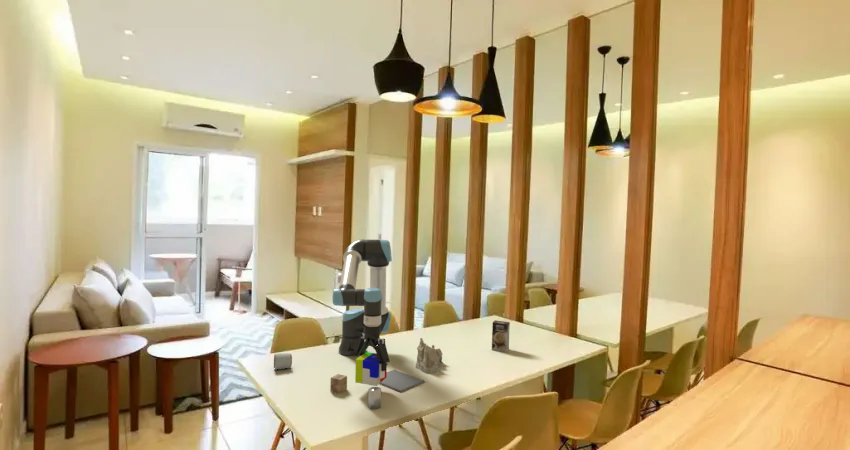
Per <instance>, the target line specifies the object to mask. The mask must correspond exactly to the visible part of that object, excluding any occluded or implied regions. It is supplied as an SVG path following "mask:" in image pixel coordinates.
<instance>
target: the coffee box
mask: <svg viewBox="0 0 850 450" xmlns="http://www.w3.org/2000/svg"><path fill="white" fill-rule="evenodd" d="M510 324H511V322H510V321H504V320H503V321H502V320H494V321H492V326H491V327H492V330H491V331H492V332H491V334H492V337H491V351H499V352H502V353H503V352H504V353H507V352H509V349H510V328H511V327H510Z"/></svg>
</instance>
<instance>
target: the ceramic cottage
mask: <svg viewBox="0 0 850 450" xmlns="http://www.w3.org/2000/svg"><path fill="white" fill-rule="evenodd" d="M416 349H417V355H416V362H415V369H417V370H418V371H420V372H422V373H425V374H436V373H439V372H440V371H442V369H443V367H444V366H445V363H444V361H443V352H442V350H441V348H436V349H435V344H432V345H431V346H429V344H427V343H425V342H424V340H423V337H421V338H420V341H419V343H418V346H417V348H416Z"/></svg>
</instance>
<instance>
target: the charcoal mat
mask: <svg viewBox="0 0 850 450" xmlns="http://www.w3.org/2000/svg"><path fill="white" fill-rule="evenodd" d="M425 382H426V380H425V379H422V378H419V377H417V376H414V375H412V374H408V373H406V372H403V371H400V370H397V369H392V370H389V371H387V377H386V378H385V379H384V380H383V381H382V382H381V383H380V384H379V385H380V386H383V387H386V388H388V389H391V390H394V391H396V392H399V393H402V392H403V393H404V392H406V391H407V390H410V389H412V388H414V387H417V386H420V385H421V384H425Z"/></svg>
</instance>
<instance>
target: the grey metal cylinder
mask: <svg viewBox="0 0 850 450" xmlns="http://www.w3.org/2000/svg"><path fill="white" fill-rule="evenodd" d="M367 398H368V399H367V401H368V404H367V407H368V409H370V410H374V411H375V410H380V409H381V408H382V388H381V387H379V386H372V387H369V388H368V397H367Z"/></svg>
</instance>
